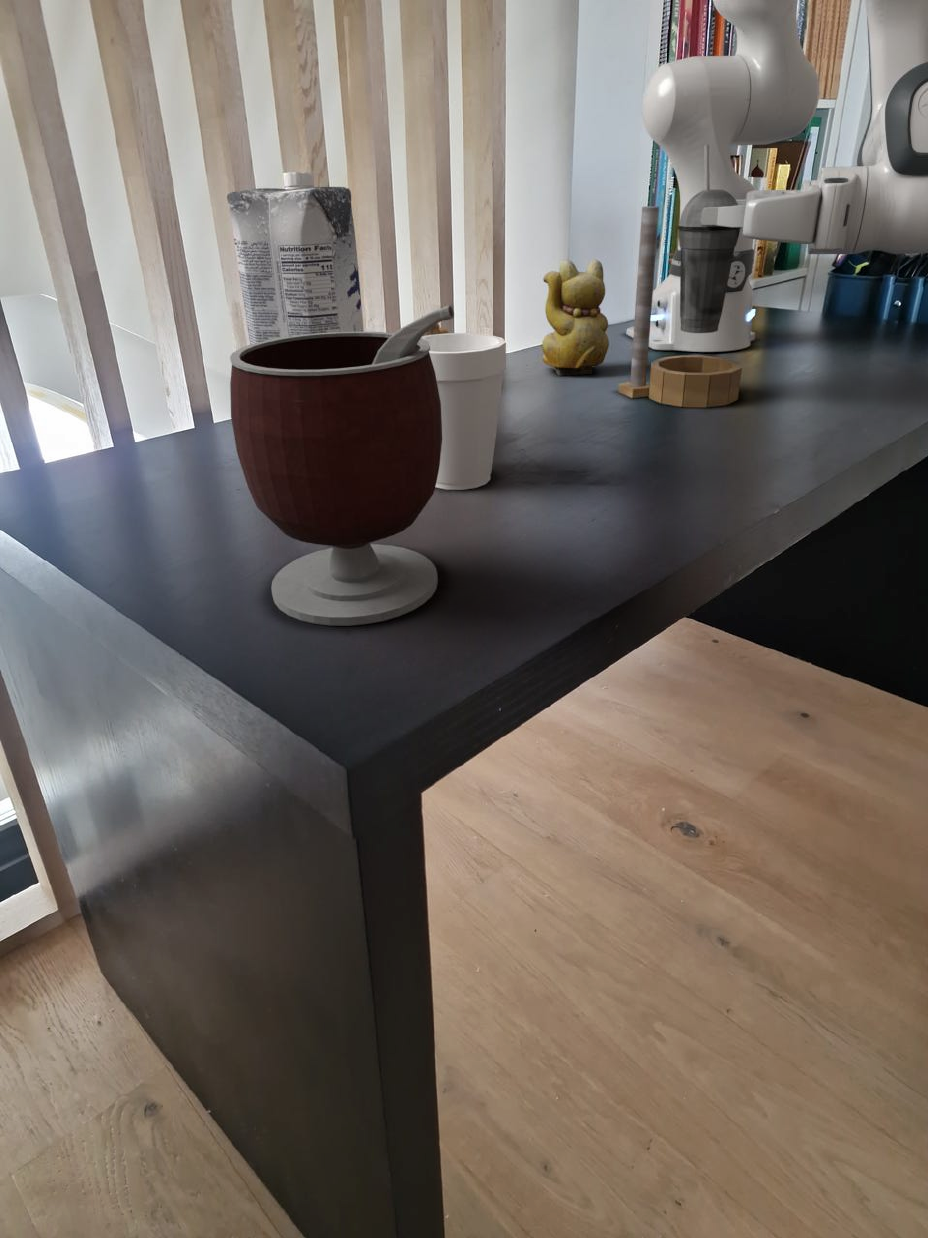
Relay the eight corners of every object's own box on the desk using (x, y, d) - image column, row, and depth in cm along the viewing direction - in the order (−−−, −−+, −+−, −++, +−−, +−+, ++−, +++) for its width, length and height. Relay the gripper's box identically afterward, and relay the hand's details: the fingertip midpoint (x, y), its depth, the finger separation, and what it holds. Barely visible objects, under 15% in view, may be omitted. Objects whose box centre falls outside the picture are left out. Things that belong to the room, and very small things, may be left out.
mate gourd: (222, 614, 58) (164, 316, 49) (320, 538, 70) (289, 285, 60) (424, 649, 53) (404, 325, 44) (494, 562, 65) (490, 289, 55)
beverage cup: (731, 335, 99) (754, 142, 89) (669, 335, 100) (685, 145, 91) (727, 324, 105) (748, 143, 95) (668, 324, 107) (683, 145, 97)
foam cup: (460, 457, 88) (456, 329, 81) (525, 476, 82) (526, 340, 75) (391, 480, 82) (381, 344, 75) (456, 503, 76) (451, 357, 70)
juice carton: (344, 470, 85) (313, 172, 72) (257, 461, 88) (211, 175, 75) (381, 444, 92) (359, 169, 79) (299, 437, 96) (264, 172, 82)
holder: (618, 392, 109) (629, 206, 99) (702, 381, 113) (721, 201, 102) (665, 413, 100) (683, 210, 89) (755, 401, 104) (782, 204, 93)
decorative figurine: (594, 363, 125) (599, 255, 118) (619, 374, 118) (627, 260, 111) (535, 369, 122) (536, 259, 115) (557, 381, 116) (560, 265, 108)
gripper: (828, 175, 100) (709, 178, 104) (844, 183, 83) (701, 186, 87) (818, 233, 103) (704, 234, 107) (832, 252, 86) (695, 252, 90)
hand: (703, 213), depth 97 cm, fingers closed on beverage cup, 7 cm apart
